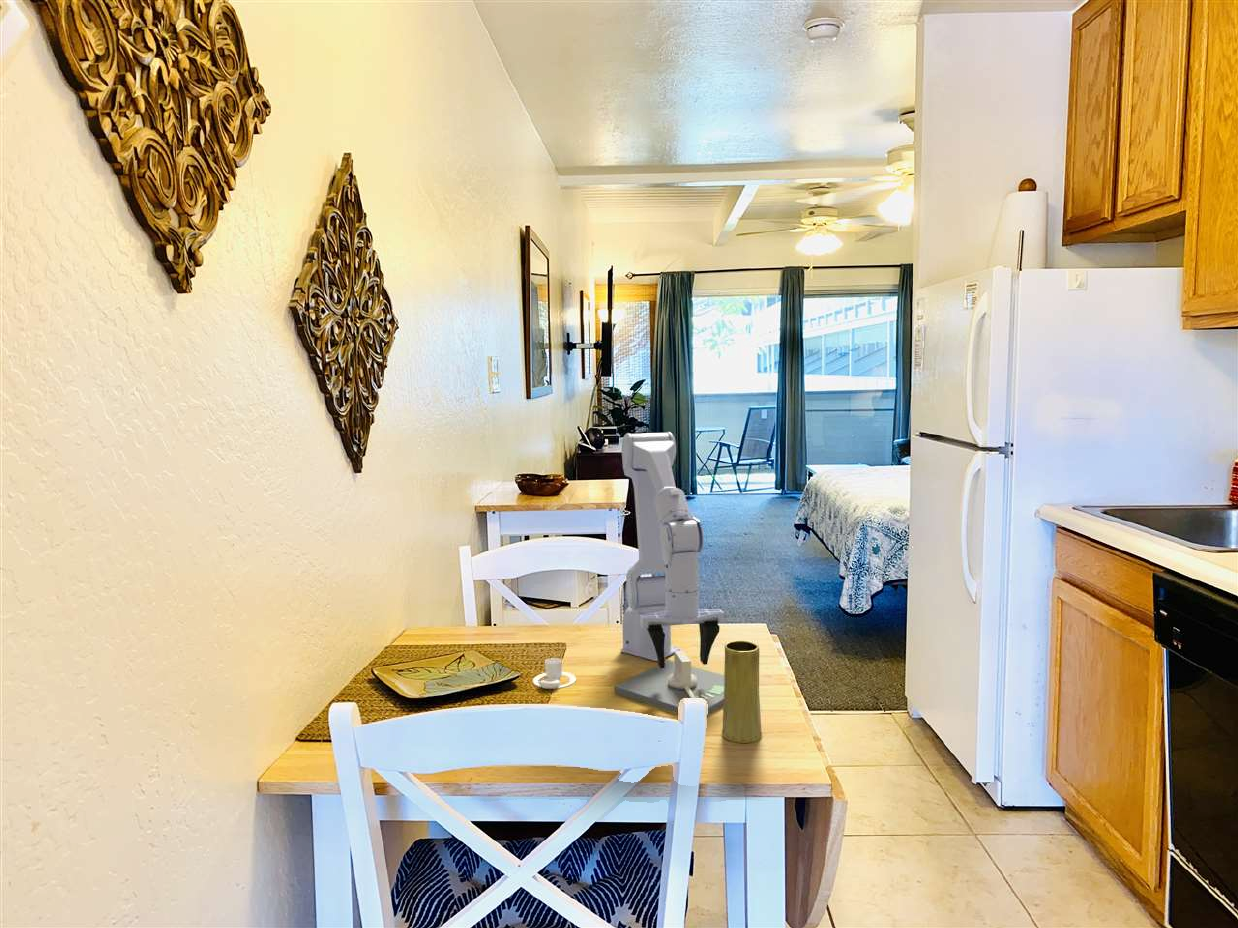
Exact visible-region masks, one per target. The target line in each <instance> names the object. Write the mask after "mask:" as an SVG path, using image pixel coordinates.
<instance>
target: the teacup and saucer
mask: <svg viewBox="0 0 1238 928" xmlns="http://www.w3.org/2000/svg"><path fill="white" fill-rule="evenodd" d="M544 666H545V672H542V673H540V674H538V675H536V676H534V678H532V683H533V685H534V686H535V687H538V688H541V687H542V689H546V690H547V689H548V690H549V689H552V690H553V689H555V690H556V689H563V688H567V687H570V686H572V685H573V684H574V683H576V681H577V677H576V676H575V675H574V674H573V673H570V672H566V671H563V670H562V668H563V661H562V659H561V658H558V657H550V658H547V659H545V660H544ZM562 676H565V677H567V678H569V681H568V682H567V683H564V684H561V681H560V680H561V678H562ZM543 677H546V678H544V679H541V678H543ZM540 679H541V680H540ZM538 680H539V681H538ZM538 682H539V683H540V684H539V683H538Z"/></svg>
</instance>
